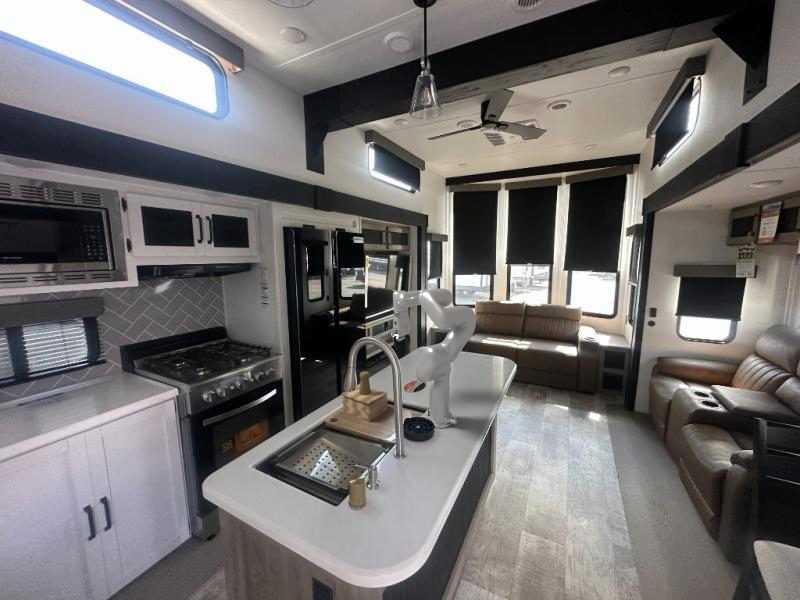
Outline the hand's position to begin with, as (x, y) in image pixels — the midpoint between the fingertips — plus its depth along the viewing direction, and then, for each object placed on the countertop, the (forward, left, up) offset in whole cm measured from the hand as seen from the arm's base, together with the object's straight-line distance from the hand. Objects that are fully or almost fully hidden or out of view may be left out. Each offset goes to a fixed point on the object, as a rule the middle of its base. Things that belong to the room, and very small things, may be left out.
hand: (402, 345), depth 167 cm
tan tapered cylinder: (+9, +21, -21) cm, 31 cm away
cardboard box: (+9, +22, -30) cm, 38 cm away
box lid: (+9, +22, -22) cm, 32 cm away
